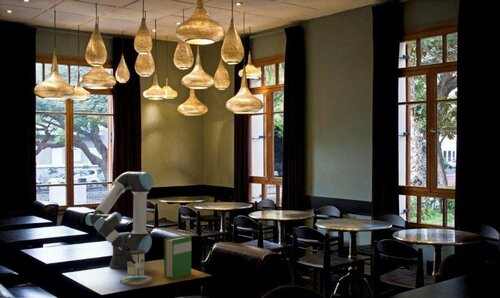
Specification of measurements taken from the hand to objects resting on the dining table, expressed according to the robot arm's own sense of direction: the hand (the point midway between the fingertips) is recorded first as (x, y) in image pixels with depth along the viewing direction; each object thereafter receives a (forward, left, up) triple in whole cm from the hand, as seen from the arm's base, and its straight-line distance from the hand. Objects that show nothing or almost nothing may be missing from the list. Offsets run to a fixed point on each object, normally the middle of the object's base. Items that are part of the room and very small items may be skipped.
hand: (140, 265), depth 337 cm
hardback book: (-2, +26, -10) cm, 28 cm away
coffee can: (-2, -3, -6) cm, 6 cm away
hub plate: (-2, -2, -10) cm, 10 cm away
